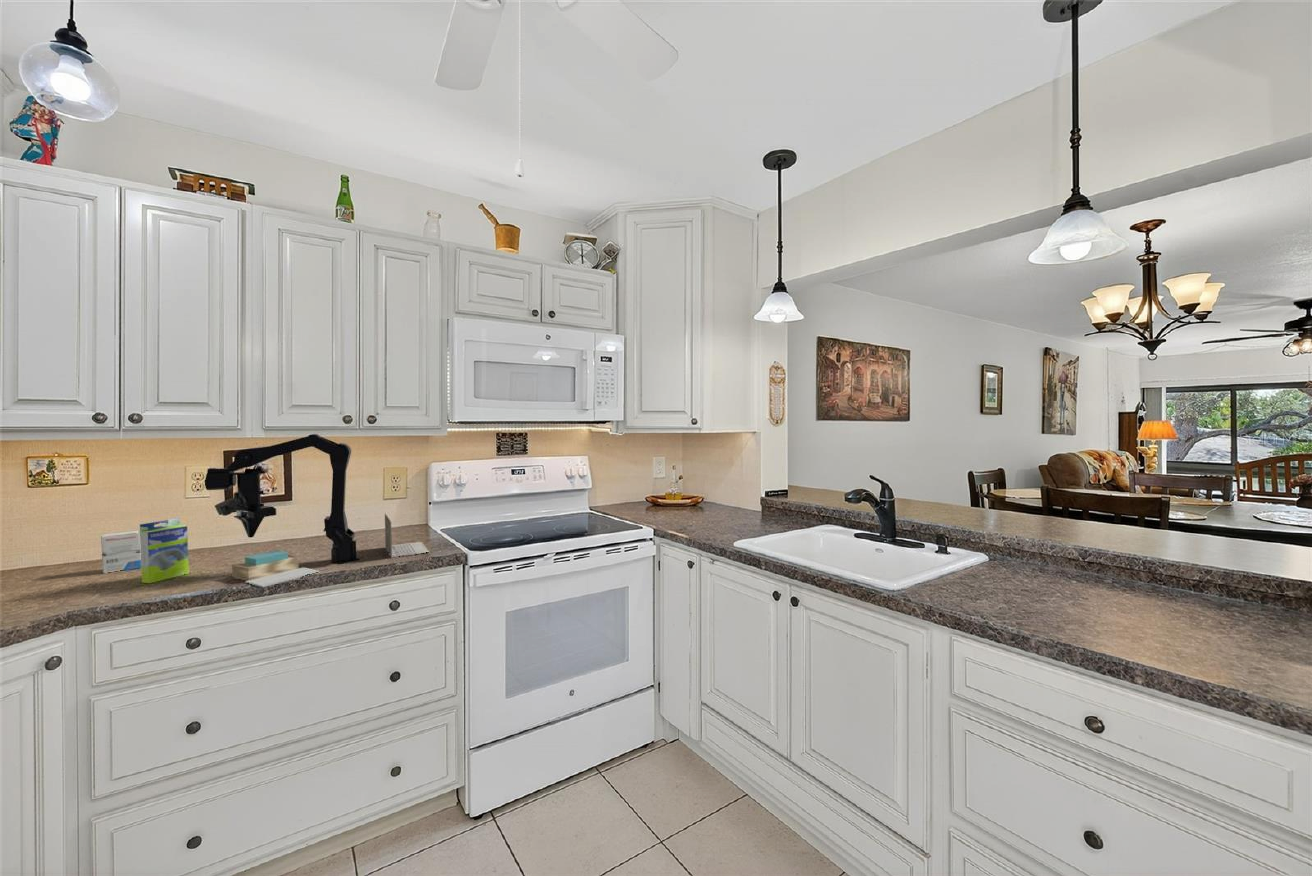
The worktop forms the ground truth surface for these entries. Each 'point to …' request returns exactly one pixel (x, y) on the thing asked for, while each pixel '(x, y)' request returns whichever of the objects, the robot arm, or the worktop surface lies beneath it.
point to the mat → (281, 577)
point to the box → (163, 550)
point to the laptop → (401, 548)
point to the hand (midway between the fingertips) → (250, 537)
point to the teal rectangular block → (266, 557)
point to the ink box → (121, 551)
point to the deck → (264, 568)
